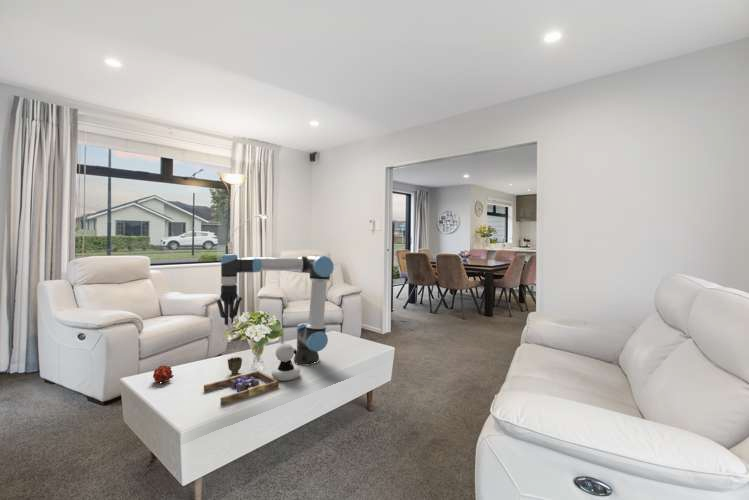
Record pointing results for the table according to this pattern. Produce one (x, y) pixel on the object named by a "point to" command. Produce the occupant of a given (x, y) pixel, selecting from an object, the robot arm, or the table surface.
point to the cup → (234, 364)
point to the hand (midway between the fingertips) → (228, 330)
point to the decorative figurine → (285, 363)
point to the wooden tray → (246, 393)
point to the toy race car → (244, 383)
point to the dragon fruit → (162, 374)
